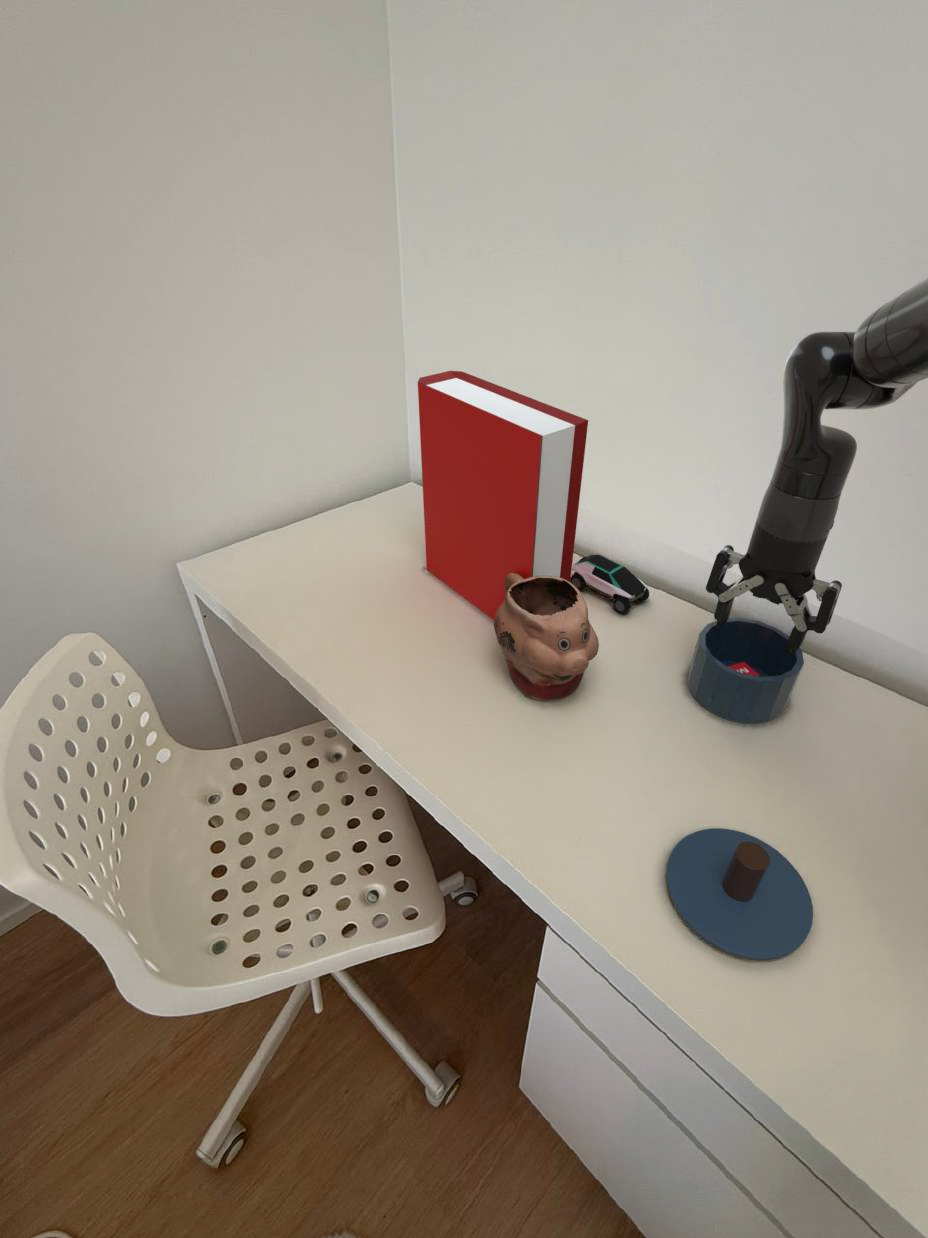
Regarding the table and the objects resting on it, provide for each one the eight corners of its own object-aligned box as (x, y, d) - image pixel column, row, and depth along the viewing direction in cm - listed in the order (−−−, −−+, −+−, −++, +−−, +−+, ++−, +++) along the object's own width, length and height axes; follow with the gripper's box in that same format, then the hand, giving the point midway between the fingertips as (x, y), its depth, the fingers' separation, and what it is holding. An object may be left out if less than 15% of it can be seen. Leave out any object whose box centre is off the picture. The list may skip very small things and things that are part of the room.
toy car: (589, 572, 111) (593, 545, 108) (648, 602, 104) (653, 574, 101) (567, 585, 108) (570, 558, 105) (625, 617, 101) (630, 589, 98)
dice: (736, 697, 86) (742, 681, 84) (720, 683, 88) (726, 667, 86) (753, 691, 87) (759, 675, 85) (738, 677, 89) (743, 661, 87)
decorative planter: (464, 646, 95) (463, 566, 87) (532, 621, 100) (538, 543, 92) (542, 733, 81) (550, 648, 73) (617, 699, 86) (633, 616, 78)
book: (565, 624, 100) (588, 420, 80) (526, 644, 96) (540, 435, 76) (458, 551, 117) (456, 369, 97) (422, 566, 113) (412, 379, 94)
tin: (798, 685, 88) (816, 642, 84) (766, 739, 81) (784, 695, 76) (709, 648, 95) (721, 606, 90) (672, 694, 87) (683, 651, 83)
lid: (827, 885, 65) (850, 846, 61) (782, 997, 57) (806, 960, 53) (697, 813, 72) (711, 773, 68) (640, 903, 64) (652, 864, 60)
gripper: (718, 515, 74) (689, 628, 83) (853, 557, 66) (803, 675, 76) (742, 493, 78) (712, 602, 88) (871, 529, 71) (822, 643, 81)
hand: (754, 635), depth 82 cm, fingers open, 8 cm apart
